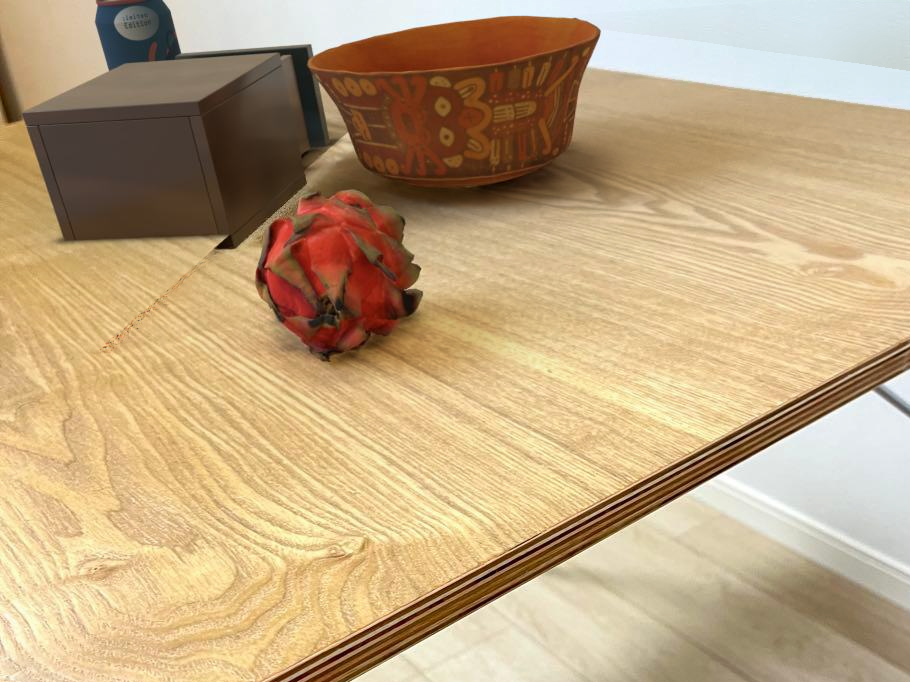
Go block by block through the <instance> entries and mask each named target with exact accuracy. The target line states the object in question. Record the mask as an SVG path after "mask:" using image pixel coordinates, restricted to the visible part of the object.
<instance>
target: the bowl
mask: <svg viewBox="0 0 910 682" xmlns="http://www.w3.org/2000/svg"><path fill="white" fill-rule="evenodd" d="M601 33H602V30H601V29H600V28H599V27H598V26H597V25H595V24H593V23H591V22H590V21H588V20H583V19H580V18H578V17H564V16H563V17H556V16H538V15H536V16H535V15H505V16H504V15H503V16H495V17H485V18H477V19H471V20H459V21H452V22H444V23H437V24H430V25H424V26H417V27H412V28H406V29H403V30H398V31H395V32H393V31H392V32H389V33H384V34H378V35H374V36H370V37H366V38H363V39H359V40H356V41H351V42H346V43H342V44H340V45H338V46H334V47H330V48H327V49H325V50H323V51H321V52H318V53H317V54H314V55H313V57H312V58H310V59H309V60H308V64H307V66H308V67H309V69H310V71H311V73H312V74H313V76H314V77H315V78H316V79H317V81H318V82H319V85H320V86H321V87H322V88H323V89H324V91H325V92H326V94H327V95H328V96H329V98H330V99H331V101H332V102H333V104H334V105H335V106H336V108H337V110H338V112H339V114H340V116H341V118H342V120H343V122H344V124H345V126H346V130H347V133H348V135H349V138H350V141H351V143H352V146H353V149H354V151H355V154H356V156H357V159H358V161H359V163H360V164H361V165H362V166H363V168H364V169H366V170H368V171H369V172H371V173H372V174H374V175H376V176H379V177H382V178H383V179H387V180H390V181H394V182H399V183H403V184H406V185H412V186H418V187H425V188H435V189H462V188H463V189H464V188H473V187H481V186H487V185H488V186H489V185H492V184H496V183H502V182H505V181H509V180H513V179H516V178H519V177H522V176H524V175H527V174H530V173H533V172H535V171H537V170H539V169H541V168H542V167H544V166H546V165H548V164H551V163H552V162H554V161H556V159H558V158H559V157H560V156H561V155H563V154H564V153H565V152H566V151H567V150H568V149H569V148H570V145H571V142H572V139H573V135H574V126H575V119H576V112H577V104H578V99H579V92H580V87H581V84H582V80H583V77H584V74H585V71H586V70H587V67H588V65H589V63H590V61H591V59H592V56H593V54H594V51H595V49H596V47H597V44H598V42H599V39H600V37H601Z"/></svg>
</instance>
